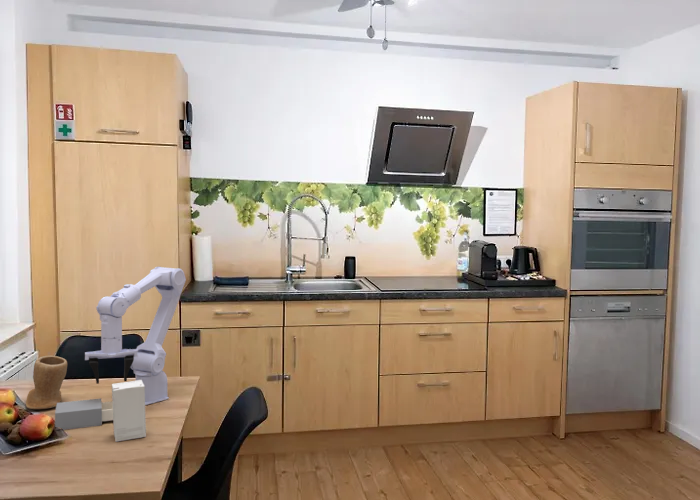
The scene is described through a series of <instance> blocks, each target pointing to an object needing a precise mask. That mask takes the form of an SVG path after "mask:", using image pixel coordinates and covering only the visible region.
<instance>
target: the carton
mask: <svg viewBox="0 0 700 500" xmlns="http://www.w3.org/2000/svg"><path fill="white" fill-rule="evenodd" d="M101 403H102V398H92V399H83V400H72V401H63V402H62V401H61V402H60V403H57V405H56V407H55V411H54V420H55V421H54V423H55V424H54V426H55V427H60V428H62V429H63V430H62V431H64V430H65V431H66V430H73V429H81V428H89V427H98V426H99V427H100V426H102V425H103V424H102V423H103V421H102V404H101Z"/></svg>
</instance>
